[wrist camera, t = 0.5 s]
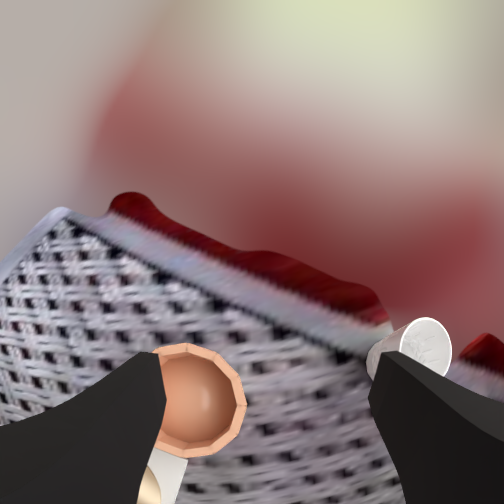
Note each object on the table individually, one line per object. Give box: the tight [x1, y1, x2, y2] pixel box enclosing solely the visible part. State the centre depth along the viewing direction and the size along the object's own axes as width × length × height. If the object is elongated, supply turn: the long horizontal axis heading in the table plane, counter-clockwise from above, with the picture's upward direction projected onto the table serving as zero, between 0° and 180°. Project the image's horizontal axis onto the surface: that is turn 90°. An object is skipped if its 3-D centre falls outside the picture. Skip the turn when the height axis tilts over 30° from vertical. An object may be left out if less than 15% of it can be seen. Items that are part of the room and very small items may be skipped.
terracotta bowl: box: [151, 343, 247, 458], centre depth 29 cm, size 13×13×5 cm
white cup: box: [366, 318, 452, 380], centre depth 30 cm, size 8×8×10 cm
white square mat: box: [147, 447, 189, 504], centre depth 24 cm, size 18×18×1 cm
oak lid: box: [137, 465, 161, 504], centre depth 22 cm, size 15×15×4 cm
